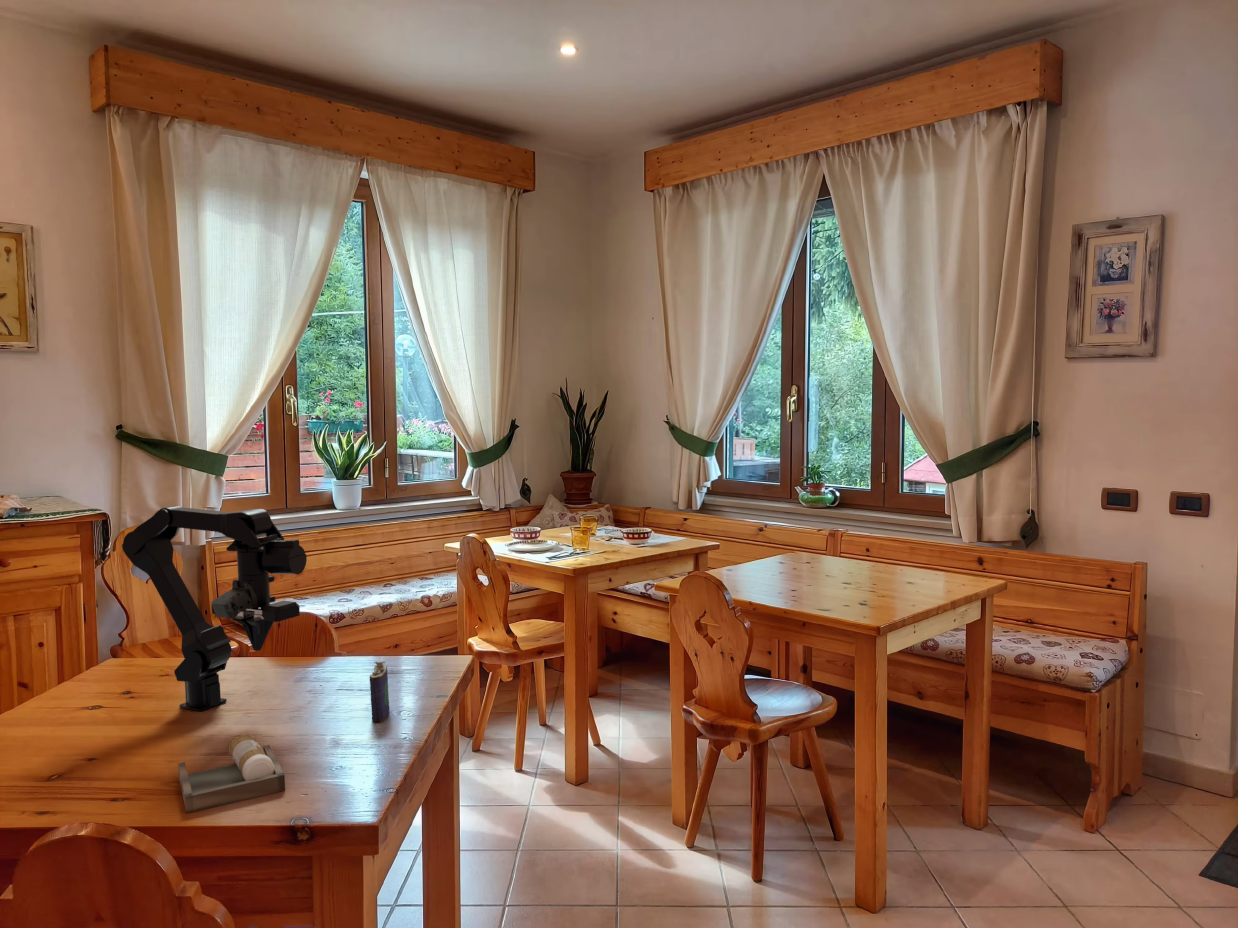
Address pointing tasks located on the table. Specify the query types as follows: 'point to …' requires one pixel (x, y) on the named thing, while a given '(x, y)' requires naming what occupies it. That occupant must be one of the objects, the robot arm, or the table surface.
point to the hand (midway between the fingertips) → (257, 650)
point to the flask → (379, 693)
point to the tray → (226, 785)
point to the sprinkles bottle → (250, 758)
